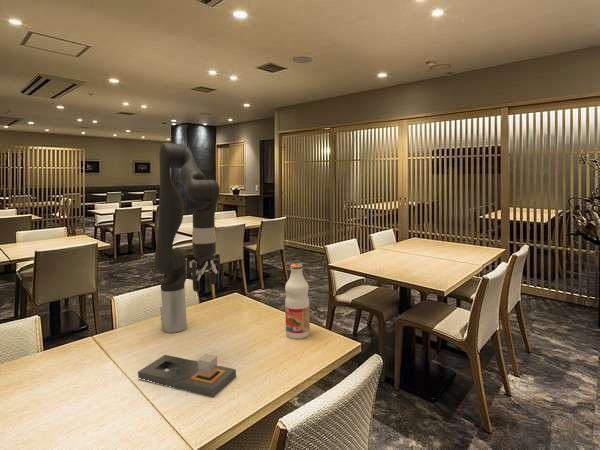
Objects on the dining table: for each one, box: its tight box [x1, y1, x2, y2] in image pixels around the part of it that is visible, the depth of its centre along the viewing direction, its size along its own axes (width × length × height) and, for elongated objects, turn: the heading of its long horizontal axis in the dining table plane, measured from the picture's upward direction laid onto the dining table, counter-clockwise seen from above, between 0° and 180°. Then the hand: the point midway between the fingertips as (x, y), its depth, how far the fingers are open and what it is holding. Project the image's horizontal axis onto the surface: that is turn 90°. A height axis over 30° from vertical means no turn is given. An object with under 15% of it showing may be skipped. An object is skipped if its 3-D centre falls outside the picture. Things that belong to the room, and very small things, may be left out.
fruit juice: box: [284, 263, 311, 340], centre depth 149 cm, size 9×9×28 cm
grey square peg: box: [197, 353, 218, 381], centre depth 116 cm, size 4×4×8 cm
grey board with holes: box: [137, 354, 237, 398], centre depth 120 cm, size 28×12×3 cm, turn 68°
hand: (205, 287), depth 129 cm, fingers open, 8 cm apart
